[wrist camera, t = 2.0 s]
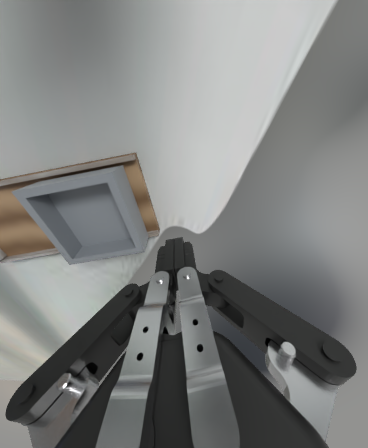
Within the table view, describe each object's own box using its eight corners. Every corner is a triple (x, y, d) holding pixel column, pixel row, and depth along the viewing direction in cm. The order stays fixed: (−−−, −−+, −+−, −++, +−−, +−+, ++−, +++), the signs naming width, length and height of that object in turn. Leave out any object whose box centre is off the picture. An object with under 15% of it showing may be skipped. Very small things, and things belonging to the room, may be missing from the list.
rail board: (-56, 190, 24) (-84, 197, 21) (136, 152, 23) (131, 155, 20) (12, 255, 31) (-3, 266, 28) (159, 229, 30) (158, 238, 27)
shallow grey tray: (48, 178, 22) (11, 191, 17) (126, 163, 22) (111, 172, 17) (88, 241, 29) (69, 264, 24) (149, 230, 28) (144, 251, 23)
